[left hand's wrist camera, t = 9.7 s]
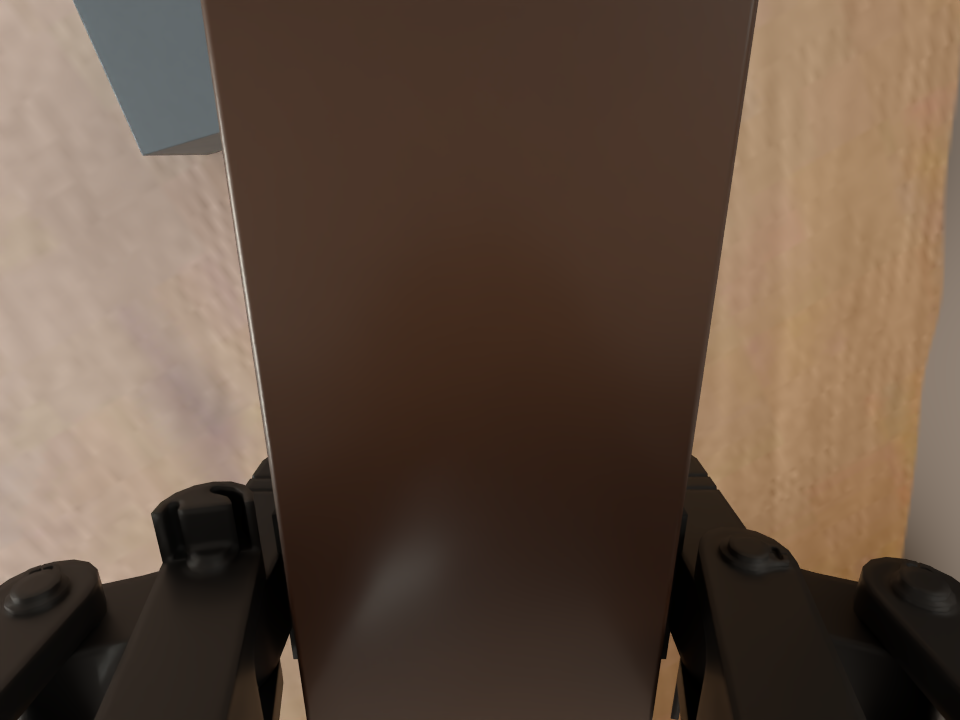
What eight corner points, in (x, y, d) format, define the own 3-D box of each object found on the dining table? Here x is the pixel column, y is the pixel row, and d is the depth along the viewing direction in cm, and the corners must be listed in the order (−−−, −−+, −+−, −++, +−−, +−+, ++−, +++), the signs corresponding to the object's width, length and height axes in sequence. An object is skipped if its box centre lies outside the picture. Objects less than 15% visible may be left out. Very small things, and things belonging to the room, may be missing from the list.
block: (316, 122, 24) (276, 115, 19) (207, 155, 24) (141, 156, 20) (271, -12, 22) (214, -55, 17) (154, 26, 23) (69, -7, 18)
